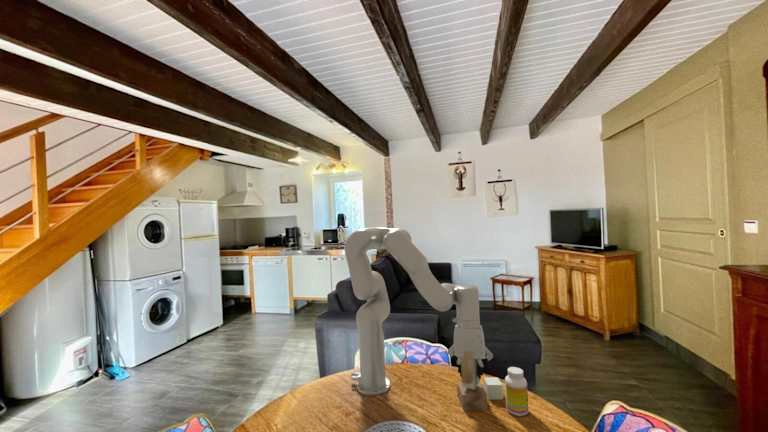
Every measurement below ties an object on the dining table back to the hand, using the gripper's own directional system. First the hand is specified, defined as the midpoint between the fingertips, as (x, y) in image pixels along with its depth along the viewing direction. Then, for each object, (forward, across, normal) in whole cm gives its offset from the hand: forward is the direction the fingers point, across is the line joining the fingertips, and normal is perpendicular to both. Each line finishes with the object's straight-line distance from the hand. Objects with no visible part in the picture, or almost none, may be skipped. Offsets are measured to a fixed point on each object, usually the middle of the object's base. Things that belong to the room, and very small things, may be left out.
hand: (470, 375), depth 104 cm
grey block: (+9, +7, +6) cm, 13 cm away
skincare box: (+3, 0, 0) cm, 3 cm away
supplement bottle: (+9, +14, -1) cm, 17 cm away
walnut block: (+9, 0, 0) cm, 9 cm away
